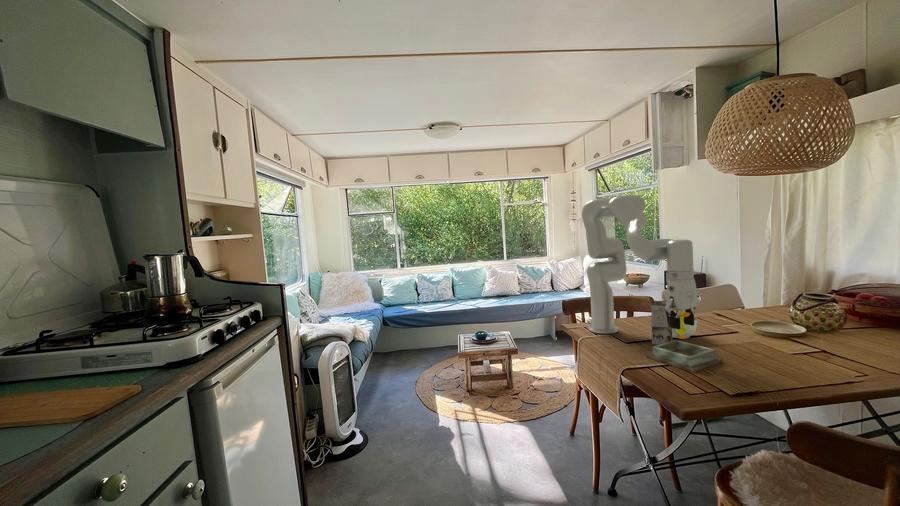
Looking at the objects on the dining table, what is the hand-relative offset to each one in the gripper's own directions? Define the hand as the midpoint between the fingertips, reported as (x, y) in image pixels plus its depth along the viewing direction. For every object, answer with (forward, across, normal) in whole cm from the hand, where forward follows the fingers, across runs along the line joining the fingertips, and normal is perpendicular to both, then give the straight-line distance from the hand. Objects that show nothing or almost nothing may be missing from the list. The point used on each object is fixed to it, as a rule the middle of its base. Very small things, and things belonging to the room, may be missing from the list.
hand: (682, 326), depth 121 cm
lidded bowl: (+12, +23, +16) cm, 31 cm away
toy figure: (+4, 0, 0) cm, 4 cm away
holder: (+12, 0, 0) cm, 12 cm away
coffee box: (+12, +11, +15) cm, 22 cm away
